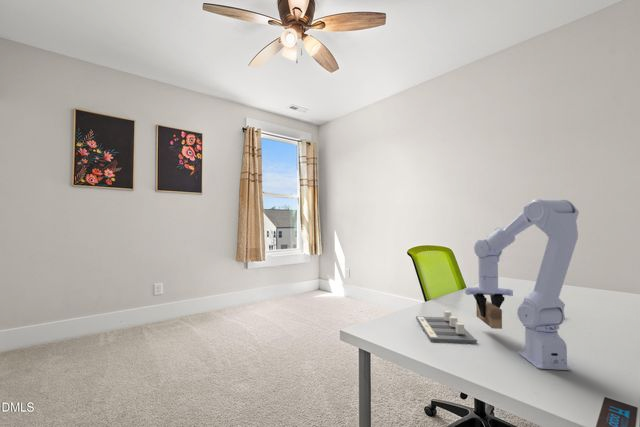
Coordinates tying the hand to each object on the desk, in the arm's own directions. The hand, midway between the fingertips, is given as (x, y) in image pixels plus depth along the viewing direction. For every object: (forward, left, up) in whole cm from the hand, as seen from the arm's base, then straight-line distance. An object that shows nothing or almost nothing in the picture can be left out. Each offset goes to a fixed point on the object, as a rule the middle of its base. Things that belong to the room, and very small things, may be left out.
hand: (488, 316), depth 100 cm
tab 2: (+3, +10, -5) cm, 12 cm away
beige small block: (-3, +10, -5) cm, 12 cm away
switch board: (+3, +14, -6) cm, 16 cm away
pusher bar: (0, 0, -2) cm, 2 cm away
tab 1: (+10, +11, -5) cm, 15 cm away
